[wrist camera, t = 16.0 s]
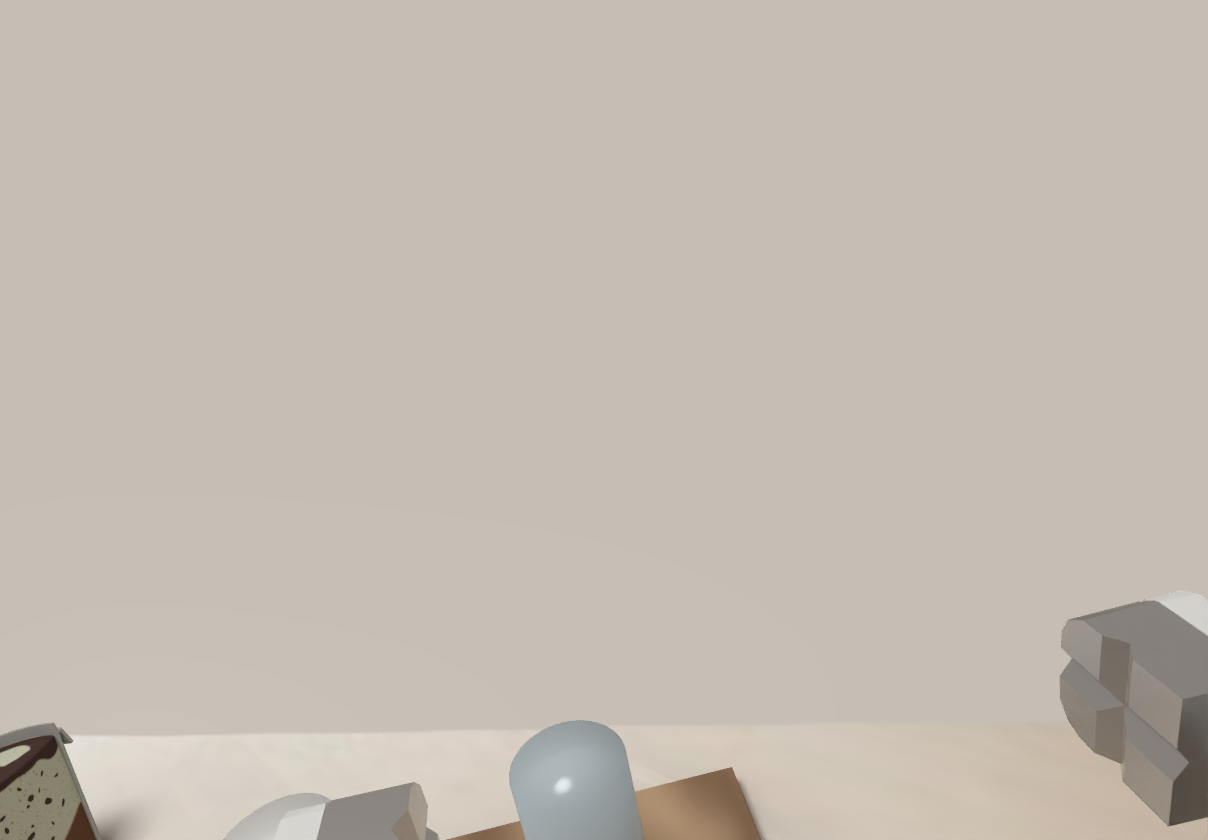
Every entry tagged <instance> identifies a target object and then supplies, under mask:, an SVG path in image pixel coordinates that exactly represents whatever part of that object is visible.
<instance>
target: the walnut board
mask: <svg viewBox="0 0 1208 840" xmlns="http://www.w3.org/2000/svg"><path fill="white" fill-rule="evenodd" d="M635 796H636V801H637V806H638V810H639V815H640V820H641V824H642V829H643V834H644V838H645V840H760V837H759V835H758V832H757V830H756V827H755V824H754V822H753V819H752V817H751V814H750V812H749V809H748V807H747V804H746V802H745V799H744V797H743V794H742V792H741V789H740V786H739V784H738V781H737V779H736V776H735V774H734V771H733V769H732V767H731V768H727V769H723V770H719V771H715V772H711V773H707V774H703V775H699V776H695V777H691V778H687V779H683V780H679V781H675V782H672V783H668V784H664V785H660V786H656V787H652V788H648V789H644V790H640V791H636V792H635ZM447 840H526V839H525V836H524V832H523V829H522V825H521V822H520V821H518V822H514V823H510V824H506V825H502V826H498V827H495V828H491V829H487V830H483V831H479V832H475V833H471V834H467V835H463V836H459V837H455V838H451V839H447Z"/></svg>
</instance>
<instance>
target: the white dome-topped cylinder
mask: <svg viewBox="0 0 1208 840" xmlns="http://www.w3.org/2000/svg"><path fill="white" fill-rule="evenodd" d="M328 802H331V800H330V799H329V798H327V797H325V796H322V795H319V794H314V793H301V794H294V795H289V796H286V797H283V798H280V799H277V800H275V801H272V802H270V803H268V804H266V805H264V806H262V807H261V808H259V809H257V810H256V811H254V812H253V813H251V814H250V815H248V816H247V817H246V818H244V819H243V820H242V821H241V822H240V823H238V824H237V825H236V826H235V827H234V828H233V829H232V830H231V831H230V832H229V833H228V834H227V836H226V837H225V838H224V839H223V840H274V837H275V834H276V831H277V828H278V824H279V823H280V821H281V819H282V818H283V817H284V816H285V814H286V813H287V812H288V811H291V810H296V809H300V808H305V807H309V806H314V805H319V804H323V803H328Z"/></svg>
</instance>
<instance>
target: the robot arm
mask: <svg viewBox="0 0 1208 840" xmlns="http://www.w3.org/2000/svg"><path fill="white" fill-rule="evenodd" d="M1061 647H1062V649H1063V650H1064V651H1065V652H1066V653H1067V654H1068V655H1069V656H1070V657H1071V658H1072V659H1071V661H1070V662H1069V664H1068V665H1067V667H1066V668H1065V669H1064V671H1063V672H1062V674H1061V675H1060V699H1061V702H1062V705H1063V708H1064V710H1065V713H1066V716H1067V718H1068V721H1069V722H1070V724H1071V725H1072V727H1073V728H1074V730H1075V731H1076V733H1077V734H1078V736H1079V737H1080V738H1081V739H1082V740H1083V741H1084V742H1085V743H1086V744H1087V745H1088V746H1089V747H1090V748H1091V750H1092V751H1093V752H1094V753H1097V754H1099V755H1101V756H1104V757H1106V758H1108V759H1111V760H1113V761H1116V762H1118V763H1120V764H1121V771H1122V779H1123V782H1124V783H1125V784H1126V785H1127V786H1128V787H1129V788H1130V789H1131V790H1132V791H1133V792H1134V793H1135V794H1136V795H1137V796H1138V797H1139V798H1140V799H1141V800H1142V801H1143V802H1144V803H1145V804H1146V805H1147V806H1148V807H1149V808H1150V809H1151V810H1152V811H1153V812H1154V813H1155V814H1156V815H1157V816H1158V817H1159V818H1160V819H1161V820H1162V821H1163V822H1164V823H1165V824H1166V825H1167V826H1172V825H1177V824H1181V823H1185V822H1189V821H1194V820H1198V819H1202V818H1206V817H1208V600H1207V599H1205V598H1204V597H1202V596H1201V595H1199V594H1197V593H1194V592H1190V591H1186V590H1179V591H1175V592H1171V593H1167V594H1164V595H1160V596H1156V597H1152V598H1149V599H1145V600H1143V601H1142V602H1136V603H1131V604H1128V605H1124V606H1120V607H1116V608H1112V609H1108V610H1104V611H1101V612H1096V613H1092V614H1089V615H1085V616H1081V617H1077V618H1073V619H1070V620H1068V621H1067V623H1066V625H1065V626H1064V628H1063V630H1062V640H1061ZM427 809H428V805H427V802H426V800H425V797H424V795H423V792H422V790H421V787H420V785H419V784H417V783H415V782H413V783H408V784H404V785H399V786H395V787H390V788H386V789H381V790H377V791H372V792H368V793H363V794H359V795H354V796H350V797H345V798H341V799H336V800H332V801H331V802H328V803H323V804H319V805H314V806H309V807H305V808H300V809H296V810H291V811H288V812H287V813H286V814H285V816H284V817H283V818H282V819H281V821H280V823H279V824H278V828H277V831H276V834H275V837H274V840H439V837H438V834H437V833H435V832H433V831H432V830H430V829H429V828H427V827H426V822H427Z"/></svg>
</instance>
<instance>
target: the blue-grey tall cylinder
mask: <svg viewBox="0 0 1208 840" xmlns="http://www.w3.org/2000/svg"><path fill="white" fill-rule="evenodd" d="M509 782H510V787H511V791H512V794H513V798H514V801H515V804H516V808H517V811H518V815H519V818H520V822H521V825H522V829H523V832H524V836H525V839H526V840H645V838H644V834H643V829H642V824H641V820H640V815H639V810H638V806H637V801H636V796H635V791H634V787H633V782H632V777H631V773H630V768H629V763H628V759H627V754H626V750H625V746H624V744H623V742H622V740H621V738H620V737H619V736H618V735H617V734H616V733H615V732H614V731H613V730H611V729H610V728H609V727H607V726H605V725H602V724H599V723H596V722H592V721H569V722H563V723H560V724H556V725H553V726H551V727H548V728H546V729H544V730H542V731H541V732H539V733H537V734H536V735H534V736H533V737H532V738H530V739H529V740H528V741H527V742H526V743H525V744H524V745H523V746H522V747H521V748H520V750H519V751H518V753H517V754H516V756H515V758H514V759H513V762H512V764H511V767H510V772H509Z"/></svg>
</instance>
